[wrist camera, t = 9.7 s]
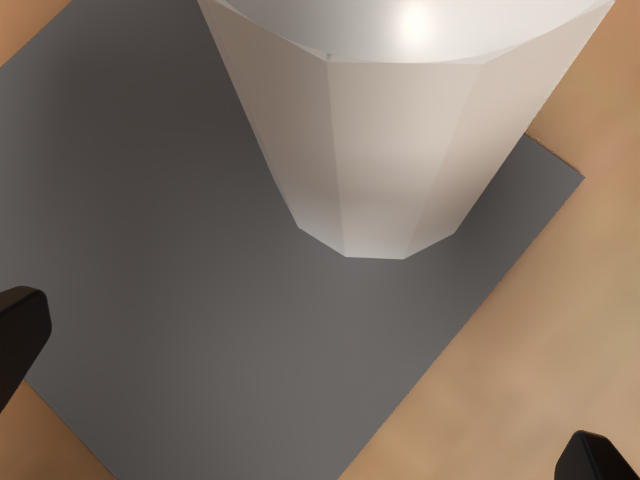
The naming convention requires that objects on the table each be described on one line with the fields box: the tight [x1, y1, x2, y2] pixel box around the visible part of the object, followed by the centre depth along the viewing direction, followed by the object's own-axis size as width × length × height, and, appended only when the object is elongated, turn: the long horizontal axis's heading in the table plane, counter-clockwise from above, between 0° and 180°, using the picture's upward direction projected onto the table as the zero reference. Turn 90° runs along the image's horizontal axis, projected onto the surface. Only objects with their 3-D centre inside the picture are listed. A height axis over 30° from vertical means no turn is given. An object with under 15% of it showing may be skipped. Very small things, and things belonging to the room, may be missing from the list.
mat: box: [0, 0, 585, 480], centre depth 20 cm, size 20×18×1 cm
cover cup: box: [197, 0, 616, 259], centre depth 14 cm, size 7×7×12 cm
